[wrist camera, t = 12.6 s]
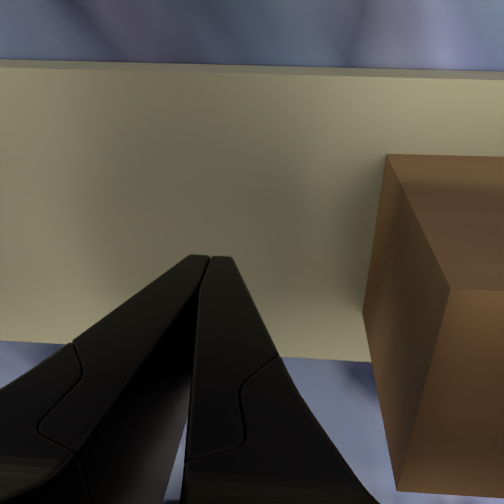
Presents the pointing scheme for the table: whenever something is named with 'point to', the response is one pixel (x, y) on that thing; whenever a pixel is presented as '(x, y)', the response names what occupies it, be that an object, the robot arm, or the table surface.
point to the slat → (440, 322)
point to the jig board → (214, 184)
